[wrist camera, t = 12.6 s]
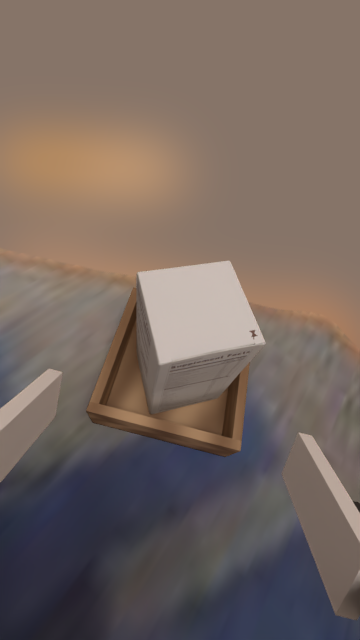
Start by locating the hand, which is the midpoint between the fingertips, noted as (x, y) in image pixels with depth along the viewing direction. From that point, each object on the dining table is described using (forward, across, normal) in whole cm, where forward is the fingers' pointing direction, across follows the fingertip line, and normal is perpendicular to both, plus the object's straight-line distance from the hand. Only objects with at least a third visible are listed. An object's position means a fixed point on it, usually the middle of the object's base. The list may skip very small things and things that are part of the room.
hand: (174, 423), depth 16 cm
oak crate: (+23, 0, -8) cm, 24 cm away
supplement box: (+23, 0, -7) cm, 24 cm away
